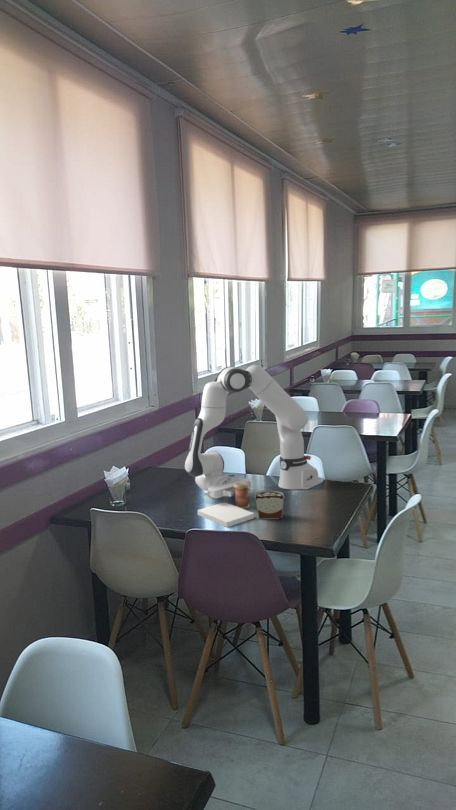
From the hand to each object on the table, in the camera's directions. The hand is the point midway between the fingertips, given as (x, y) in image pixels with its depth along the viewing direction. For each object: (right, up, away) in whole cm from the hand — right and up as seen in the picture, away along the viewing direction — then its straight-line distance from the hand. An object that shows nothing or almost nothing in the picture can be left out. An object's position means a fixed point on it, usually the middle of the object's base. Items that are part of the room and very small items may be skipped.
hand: (240, 492), depth 242 cm
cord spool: (+1, -7, +1) cm, 7 cm away
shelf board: (-6, -8, -10) cm, 14 cm away
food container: (+12, -8, -12) cm, 19 cm away
